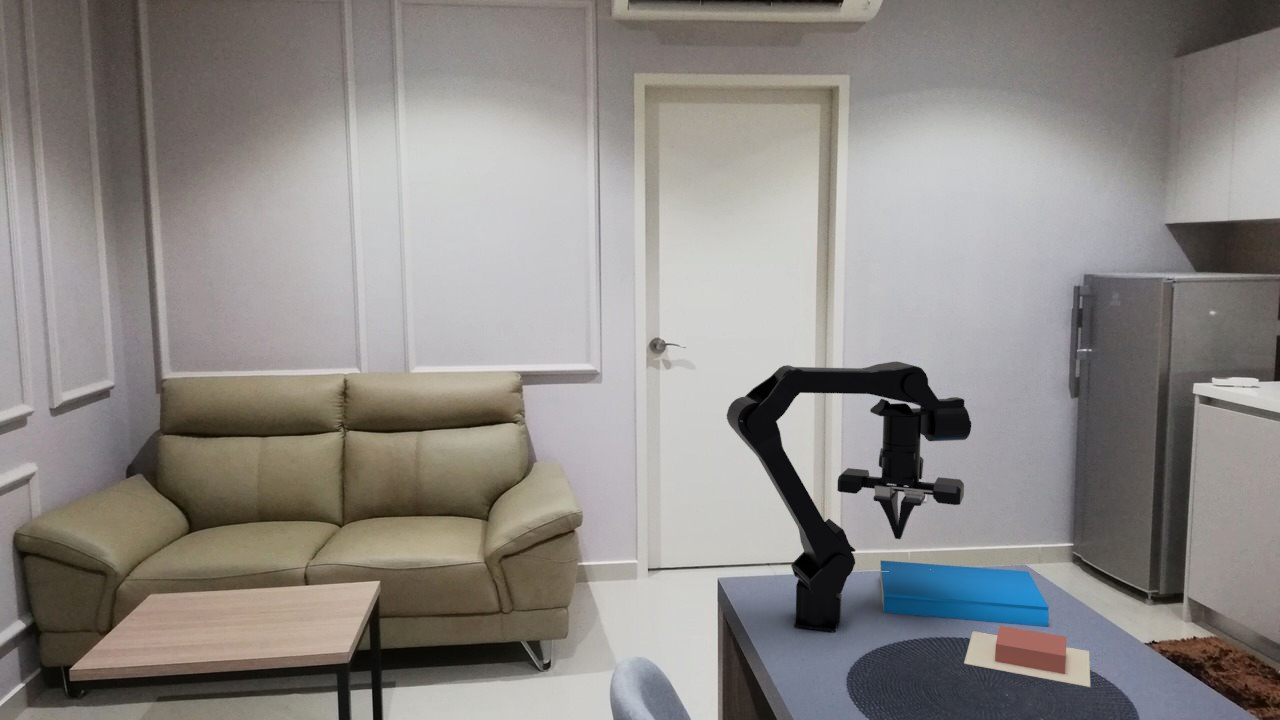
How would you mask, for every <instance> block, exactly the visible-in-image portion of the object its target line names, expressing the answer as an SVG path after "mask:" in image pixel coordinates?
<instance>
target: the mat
mask: <svg viewBox="0 0 1280 720" xmlns="http://www.w3.org/2000/svg"><path fill="white" fill-rule="evenodd" d="M997 636H998V634H992V633H984V632H980V631H972V633H971V636H970V639H969V644H968V647H967V651H966V655H965V659H964V661H963V664H964V665H969V666H974V667H975V666H976V667H981V668H985V669H991V670H997V671H1002V672H1006V673H1012V674H1017V675H1023V676H1028V677H1029V676H1030V677H1033V678H1040V679H1045V680H1050V681H1056V682H1062V683H1064V684H1066V683H1067V684H1071V685H1076V686H1083V687H1087V688H1091V672H1090V671H1091V670H1090V669H1091V667H1090V665H1091V663H1090V651H1089V650H1084V649H1079V648H1073V647H1067V646H1066V665H1065V674H1062V673H1056V672H1051V671H1045V670H1040V669H1034V668H1029V667H1023V666H1018V665H1012V664H1007V663H1001V662H996V661H995V651H996V641H997Z"/></svg>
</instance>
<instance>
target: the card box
mask: <svg viewBox="0 0 1280 720" xmlns="http://www.w3.org/2000/svg"><path fill="white" fill-rule="evenodd" d="M997 635H998V636H997V641H996V651H995V661H996V662H1001V663H1007V664H1012V665H1018V666H1023V667H1029V668H1034V669H1040V670H1045V671H1051V672H1056V673H1062V674H1065V665H1066V647H1067V636H1065V635H1060V634H1053V633H1049V632H1048V633H1047V632H1040V631H1034V630H1029V629H1022V628H1017V627H1011V626H1004V625H999V627H998V631H997Z"/></svg>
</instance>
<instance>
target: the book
mask: <svg viewBox="0 0 1280 720" xmlns="http://www.w3.org/2000/svg"><path fill="white" fill-rule="evenodd" d="M879 568H880V571H889V572H879V574H880V576H879V577H880V578H879V580H880V581H879V582H880V587H881V600H882V601H881V602H882V610H883V611H882V612H883V613H890V614H901V615H910V616H923V617H924V616H925V617H934V618H936V617H937V618H947V619H958V620H959V619H960V620H967V621H968V620H970V621H981V622H992V623H993V622H994V623H1004V624H1014V625H1016V624H1017V625H1027V626H1040V627H1041V626H1042V627H1049V621H1050V620H1049V618H1050V617H1049V615H1050V612H1049V606H1048V604H1047V602H1046V600H1045V599H1044V596H1043V595H1042V593H1041V591H1040V590H1039V588H1038V586H1037V583H1036V582H1035V580H1034V579H1033V577H1032V575H1031V573H1030V572H1029V571H1027V570H1013V569H1000V568H986V567H975V566H974V567H973V566H972V567H971V566H961V565H960V566H959V565H947V564H946V565H945V564H933V563H920V562H919V563H918V562H907V561H906V562H905V561H895V560H894V561H893V560H880V567H879ZM930 569H931V570H930Z"/></svg>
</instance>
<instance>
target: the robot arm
mask: <svg viewBox="0 0 1280 720" xmlns="http://www.w3.org/2000/svg"><path fill="white" fill-rule="evenodd" d="M801 393H802V394H803V393H804V394H849V395H850V394H851V395H856V394H857V395H859V394H860V395H872V396H877V397H880V398H881V399H880V400H879V401H878V402H877V403H876V404H875V405H873V406H872V407H871V408H870V410H869V411H870V413H871V414H874V415H877V416H879V417H883V419H882V422H883V424H882V427H883V428H882V447H881V448H880V451H879V457H878V466H879V468H881V476H880V477H879V476H870V473H869V470H868V469H860V468H851V467H847V468H846V469H845V470H844V471H843V472H842V473H841V474H840V475H839V476H838V478H837V490H836V491H837V492H840V493H846V494H847V493H848V494H854V495H857V494H858V493H859V492H860V491H862V489H864V488H865V489H866V488H867V489H872V490H873V489H874V495H873V499H872V500H873V501H874V502H879V504H880V506H881V508H882V509H883V511H884V514H885V515H886V519H887V521H888V523H889V525H890V529H891V532H892V534H893V536H894V539H896V540H901V539H902V537H903V534H904V531H905V530H906V526H907V524H908V521H909V518H910V516H911V513H912V512H913V509H914V507H921V506H922V505H923V503H924V502H925V499H926V495H929V496H930V495H931V496H932V498H933V499H934V500H935V501H936V502H937V504H943V505H944V504H945V505H951V506H959V505H961V503H962V501H963V499H964V497H965V496H964V495H965V484H964V482H963V481H962V480H961V479H960V478H959V479H957V478H948V477H939V476H938V477H937V479H936V480H935V481H934V482H929V481H927V482H926V481H920V480H922V479H923V473H924V472H923V471H924V461H925V460H924V458H923V457H922V456H921V435H922V436H924V438H925V440H927V441H928V442H948V441H950V442H951V441H965V440H967V439H968V438H969V436H970V434H971V430H972V421H971V419H970V418H971V417H970V415H969V411H968V410H967V408H966V406H965V399H964V398H962V397H959V396H958V397H953V396H952V397H948V398H938V397H937V396H936V394H935V393H934V391H933V390H932V388H931V387H930V385H929V378H928V376H927V373H926V372H925V371H924V370H923V368H921V367H920V366H917V365H914V364H913V365H912V364H909V363H905V362H901V361H889V362H883V363H878V364H874V365H871V366H868V367H862V368H859V367H858V368H855V367H854V368H852V367H813V366H812V367H811V366H810V367H808V366H805V367H803V366H792V365H789V364H787V365H782V366H781V367H779V368H778V369H776V370H775V371H774V373H773V374H771V376H769V377H768V378H767V379H765V380H764V381H762V382H761V383H759V384H757V385H756V386H755V387H753V388H752V389H751V390H750V391H749V392H747V394H746V395H745V396H740V397H738V398H736V399H734V401H732V402H731V404H730V405H729V406H728V409H727V413H726V420H727V422H728V424H729V426H730V427H731V429H732V430H733V431H734V432H735V434H737V436H738V437H739V438H740V440H741V441H742V442H744V443H745V445H746V446H747V447H748V448H749V449H750V450H751V451H752V452H753V454H755V455H756V457H757V458H758V460H759V461H760V463H761V466H762V467H763V469H764V471H765V473H766V475H768V478H769V479H770V481H771V483H772V484H773V486H774V488H775V489H776V492H777V493H778V494H779V497H780V499H781V500H782V502H783V503H784V505H785V507H786V509H787V510H788V512H789V514H790V517H792V519H793V521H794V522H795V526H797V529H798V532H799V539H800V543H801V545H802V548H803V552H802V553H801V554H800V555H799V556H798V557H797V558H796V559H795V560H794V561H793V562H792V563H791V565H790V566H791V569H792V573H793V575H794V577H795V578H797V582H796V585H795V587H796V588H795V618H794V622H793V627H795V628H801V629H808V630H818V631H824V632H825V631H826V632H836V631H837V629H838V628H837V627H838V625H840V623H841V621H842V620H841V619H842V598H843V597H842V596H843V595H842V592H843V589H844V587H845V585H846V584H845V583H846V581H847V578H848V576H850V575H851V573H852V572H853V571H854V567H855V565H856V559H855V556H854V554H853V553H855V552H856V549H855V548H854V547H853V546H852V545H851V544H850V542H849V540H848V538H847V534H846V532H845V530H844V529H843V528H842V527H840V526H839V525H838V524H837V523H836V522H834V521H833V520H831V519H830V518H828V519H827V520H824V518H823V516H822V515H821V513H820V511H819V509H818V507H817V506H816V504H815V502H814V500H813V499H812V497H811V496H810V494H809V492H808V490H807V488H806V487H805V485H804V483H803V481H802V480H801V478H800V475H799V474H798V473H797V471H796V469H795V467H794V466H793V463H792V462H791V460H790V458H789V456H788V455H787V453H786V452H785V450H784V446H783V442H782V441H783V440H782V435H781V431H780V428H779V426H778V422H777V421H778V420H780V419H781V417H783V415H785V413H786V412H787V410H788V409H789V407H790V406H791V404H792V403H793V402H794V400H795V399H796V397H797V396H799V395H800V394H801ZM883 398H886V399H883ZM887 399H889V400H890V399H891V400H894V401H899V403H890V401H889V400H887ZM900 402H902V403H900ZM908 403H909V404H913V405H917V406H919V407H920V408H919V407H915V408H911V406H910V405H909V404H908ZM899 492H902V493H903V494H904V497H903V498H902V499H901V502H900V507H899V505H898V500H899V498H898V497H899ZM899 508H900V510H899Z"/></svg>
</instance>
